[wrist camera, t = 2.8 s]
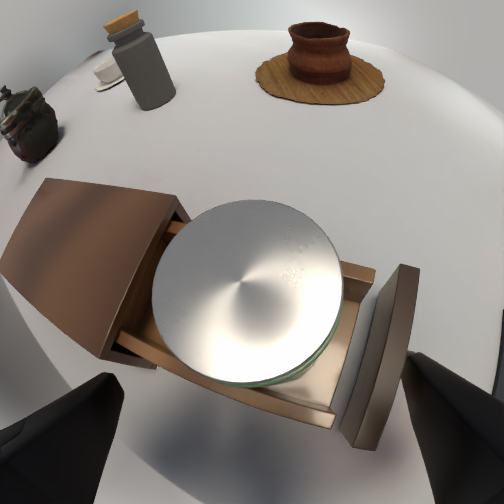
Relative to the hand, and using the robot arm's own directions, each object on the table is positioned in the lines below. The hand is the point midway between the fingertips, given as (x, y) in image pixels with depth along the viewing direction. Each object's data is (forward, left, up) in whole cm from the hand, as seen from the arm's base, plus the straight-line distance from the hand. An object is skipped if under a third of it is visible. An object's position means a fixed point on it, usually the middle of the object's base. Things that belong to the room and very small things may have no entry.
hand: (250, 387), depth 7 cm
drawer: (+3, +2, -9) cm, 10 cm away
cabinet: (+3, +17, -10) cm, 20 cm away
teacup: (+39, +47, -10) cm, 62 cm away
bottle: (+28, +27, -10) cm, 41 cm away
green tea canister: (+3, +1, -8) cm, 9 cm away
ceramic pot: (+36, +5, -10) cm, 38 cm away
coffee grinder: (+17, +49, -10) cm, 53 cm away
